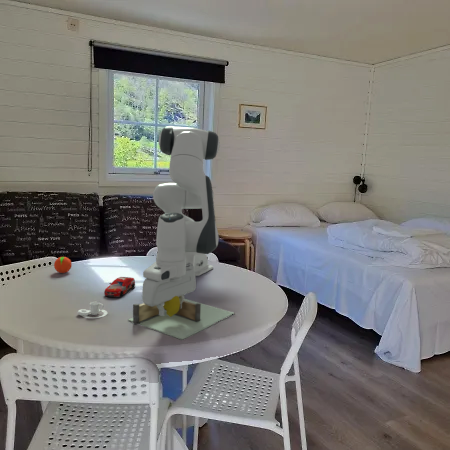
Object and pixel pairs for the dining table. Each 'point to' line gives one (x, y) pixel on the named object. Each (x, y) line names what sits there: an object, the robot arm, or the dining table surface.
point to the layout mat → (185, 321)
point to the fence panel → (190, 310)
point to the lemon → (172, 306)
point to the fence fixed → (143, 312)
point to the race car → (120, 287)
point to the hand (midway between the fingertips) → (170, 312)
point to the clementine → (62, 264)
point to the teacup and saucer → (92, 310)
